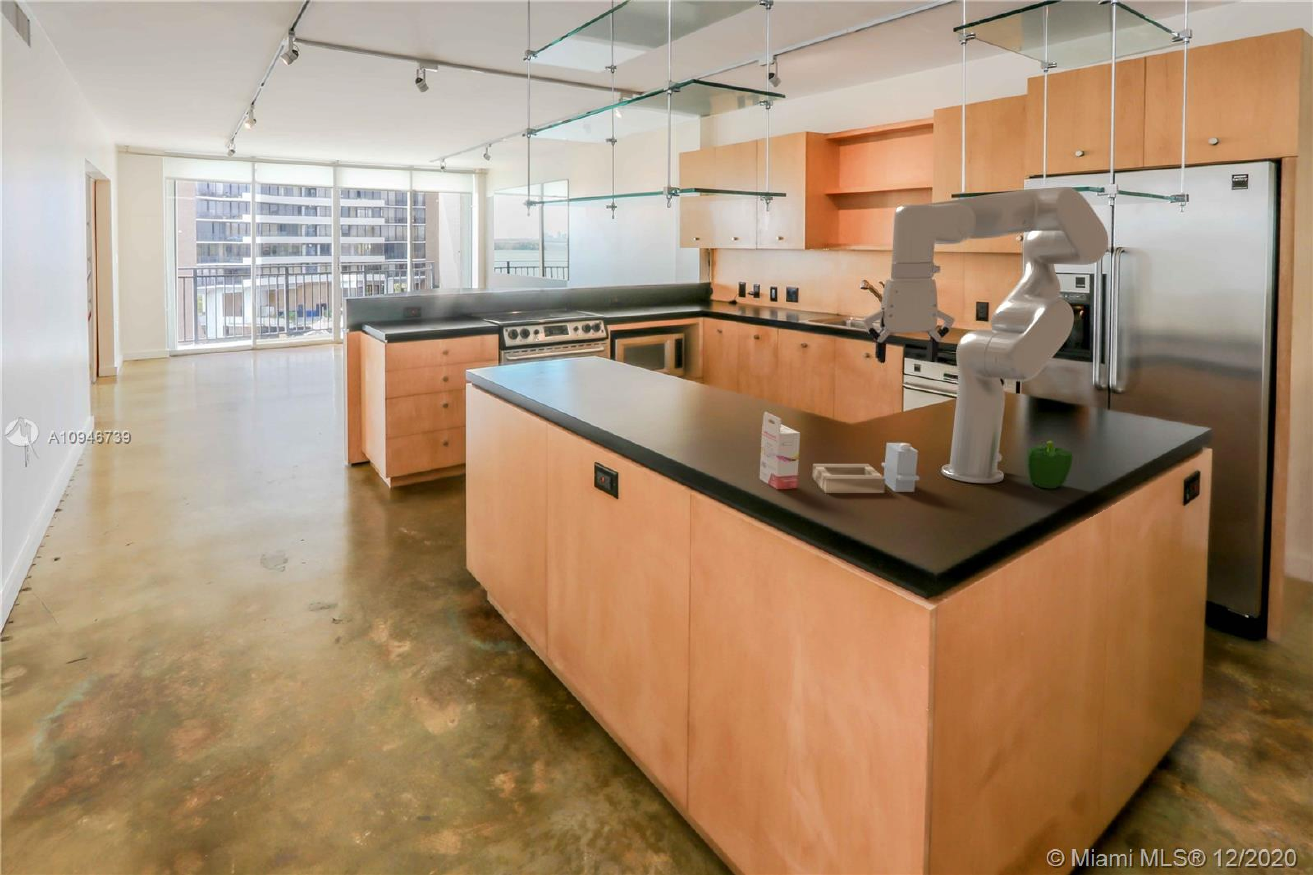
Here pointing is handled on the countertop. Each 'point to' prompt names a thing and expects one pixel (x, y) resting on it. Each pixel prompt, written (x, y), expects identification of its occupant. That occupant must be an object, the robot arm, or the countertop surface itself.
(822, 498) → the countertop surface
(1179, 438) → the countertop surface
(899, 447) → the servo
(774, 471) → the ink cartridge box
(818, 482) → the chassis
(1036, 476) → the bell pepper
